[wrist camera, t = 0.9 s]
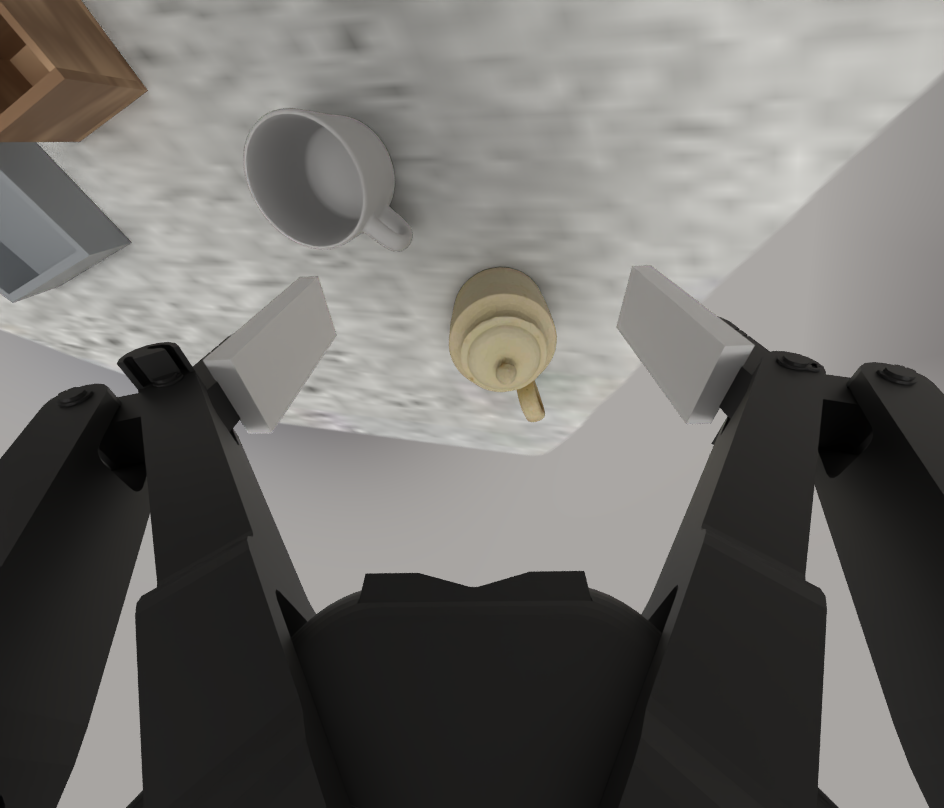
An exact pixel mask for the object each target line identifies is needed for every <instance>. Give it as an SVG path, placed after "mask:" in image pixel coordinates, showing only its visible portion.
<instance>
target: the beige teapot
mask: <svg viewBox="0 0 944 808" xmlns="http://www.w3.org/2000/svg"><path fill="white" fill-rule="evenodd" d="M556 343H557V335H556V329H555V325H554V322H553V319H552V317H551V314H550V311H549V309H548V307H547V304H546V302H545V300H544V298H543V296H542V294H541V292H540V290H539V288H538V287H537V285H536V284H535V283H534V282H533V280H532V279H531V278H530V277H528V276H527V275H525V274H524V273H522V272H520V271H517V270H515V269H511V268H503V267H498V268H491V269H487V270H483V271H481V272H479V273H478V274H476V275H474V276H473V277H472V278H470V279H469V280H468V281H467V282H466V283H465V284H464V285H463V286H462V288H461V289H460V291H459V293H458V295H457V297H456V301H455V304H454V309H453V314H452V319H451V325H450V335H449V350H450V355H451V358H452V360H453V363H454V364H455V366H456V368H457V369H458V370H459V372H460V373H461V374H462V375H463V376H465V377H466V378H467V379H468V380H470V381H472V382H473V383H475V384H476V385H478V386H480V387H481V388H484V389H487V390H490V391H494V392H506V391H512V390H517V393H518V398H519V402H520V405H521V408H522V411H523V413H524V415H525V417H526V419H527V420H528V421H530V422H537V421H540V420H541V419H543V418H544V416H545V411H544V407H543V404H542V401H541V397H540V394H539V391H538V388H537V386H536V383H535V379H536V378H537V377H538V375H539V374H541V373H542V372H543V371H544V370H545V368H546V367H547V366H548V364H549V363H550V361H551V359H552V358H553V355H554V352H555V349H556Z"/></svg>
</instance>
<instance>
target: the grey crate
mask: <svg viewBox="0 0 944 808" xmlns="http://www.w3.org/2000/svg"><path fill="white" fill-rule="evenodd" d="M130 243H131V242H130V240H129V239H128V238H127V237H126V236H125V235H124V234H123V233H122V232H121V231H120V230H119V229H118V228H117V227H116V226H115V225H114V224H113V223H112V222H111V221H110V220H109V219H108V217H107V216H106V215H105V214H104V213H103V212H102V211H101V210H100V209H99V208H98V207H97V206H96V205H95V204H94V203H93V202H92V201H91V200H90V199H89V198H88V197H87V196H86V194H85V193H84V192H83V191H82V190H81V189H80V188H79V187H78V186H77V185H76V184H75V183H74V182H73V181H72V180H71V179H70V178H69V177H68V176H67V175H66V174H65V173H64V171H63V170H62V169H61V168H60V167H59V166H58V165H57V164H56V163H55V162H54V161H53V160H52V159H51V158H50V157H49V156H48V155H47V154H46V153H45V152H44V151H43V150H42V148H41V147H40V146H39V145H38V144H37V143H36V142H0V294H2V295H3V296H4V297H6V298H7V299H8V300H9V301H11V302H12V303H14V302H17V301H20V300H22V299H25V298H28V297H31V296H34V295H36V294H39V293H42V292H45V291H48V290H50V289H53V288H56V287H59V286H60V285H62V284H64V283H65V282H67V281H69V280H70V279H72V278H74V277H75V276H77V275H79V274H80V273H82V272H84V271H85V270H87V269H89V268H90V267H92V266H94V265H95V264H97V263H99V262H100V261H102V260H103V259H105V258H107V257H108V256H110V255H112V254H113V253H115V252H117V251H118V250H120V249H122V248H123V247H125V246H127V245H128V244H130Z"/></svg>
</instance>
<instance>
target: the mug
mask: <svg viewBox="0 0 944 808" xmlns="http://www.w3.org/2000/svg"><path fill="white" fill-rule="evenodd" d="M244 170H245V176H246V180H247V184H248V187H249V189H250V192H251V194H252V196H253V199H254V201H255V202H256V204H257V206H258V207H259V209H260V211H261V212H262V213H263V215H264V216H265V217H266V219H267V220H268V221H269V222H270V223H271V224H272V225H273V226H274V227H275V228H276V229H277V230H278V231H279V232H281V233H282V234H283V235H284V236H286V237H287V238H289V239H291V240H292V241H294V242H296V243H298V244H300V245H303V246H306V247H310V248H314V249H332V248H336V247H339V246H342V245H344V244H346V243H347V242H349V241H351V240H352V239H354V238H355V237H357V236H359V235H360V234H362V233H365V234H367V235H368V236H370V237H371V238H373V239H374V240H375V241H377V242H378V243H379V244H381V245H382V246H384V247H386V248H387V249H389V250H392V251H397V252H400V251H403V250H405V249H406V248H407V247H408V246H409V245H410V243H411V241H412V238H413V232H412V229H411V227H410V226H409V224H408V223H407V222H406V221H405V220H404V219H403V218H402V217H401V216H400V215H398V214H397V213H396V212H395V211H394V210H393V209H391V208H390V207H389V205H390V203H391V201H392V198H393V194H394V188H395V175H394V168H393V165H392V161H391V158H390V156H389V153H388V151H387V149H386V147H385V146H384V144H383V142H382V141H381V140H380V138H379V137H378V136H377V135H376V134H375V133H374V132H373V131H372V130H371V129H370V128H369V127H368V126H366V125H365V124H363V123H362V122H360V121H358V120H356V119H354V118H351V117H347V116H342V115H332V114H326V113H320V112H314V111H308V110H302V109H294V108H286V109H279V110H274V111H272V112H269V113H267V114H265V115H264V116H263V117H261V118H260V119H259V120H258V121H257V122H256V123H255V124H254V125H253V127H252V129H251V130H250V132H249V134H248V137H247V139H246V143H245V147H244ZM387 226H388V227H387Z"/></svg>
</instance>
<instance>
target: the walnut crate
mask: <svg viewBox="0 0 944 808" xmlns="http://www.w3.org/2000/svg"><path fill="white" fill-rule="evenodd" d="M147 91H148V90H147V89H146V87H145V86H144V85H143V83H142V82H141V81H140V79H139V78H138V77H137V75H136V74H135V73H134V71H133V70H132V69H131V67H130V66H129V65H128V63H127V62H126V60H125V59H124V58H123V56H122V55H121V54H120V52H119V51H118V50H117V48H116V47H115V46H114V44H113V43H112V42H111V40H110V39H109V37H108V36H107V35H106V33H105V32H104V31H103V29H102V28H101V27H100V25H99V24H98V23H97V21H96V20H95V19H94V17H93V16H92V14H91V13H90V12H89V10H88V9H87V8H86V6H85V5H84V4H83V2H82V1H81V0H0V142H80V141H81V140H83V139H84V138H85V137H87V136H88V135H89V134H91V133H92V132H93V131H95V130H96V129H97V128H99V127H100V126H101V125H103V124H104V123H105V122H107V121H108V120H109V119H111V118H112V117H113V116H115V115H116V114H117V113H119V112H120V111H121V110H123V109H124V108H125V107H127V106H128V105H129V104H131V103H132V102H133V101H135V100H136V99H137V98H139V97H140V96H141V95H143V94H144V93H145V92H147Z"/></svg>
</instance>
